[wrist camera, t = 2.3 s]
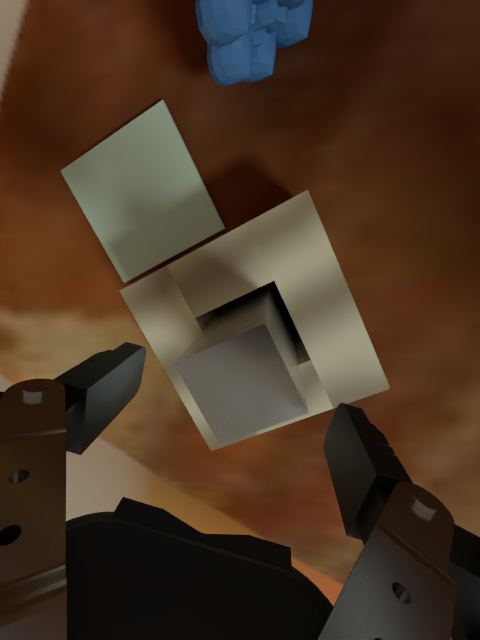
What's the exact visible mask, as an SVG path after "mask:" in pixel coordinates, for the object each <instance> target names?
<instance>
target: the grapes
mask: <svg viewBox="0 0 480 640" xmlns="http://www.w3.org/2000/svg"><path fill="white" fill-rule="evenodd" d="M195 10H196V16H197V21H198V27H199V30H200V32H201V34H202V35H203V37H204V38H205V40H206V42H207V43H208V45H207V62H208V67H209V73H210V75H211V76H212V78H213V79H214V81H215V82H216V83H217V84H220V85H223V86H228V85H232V84H236V83H238V82H240V81H244V82H247V83H252V82H256V81H259V80H262V79H264V78H266V77H268V76H270V75H272V73H273V67H274V61H275V55H276V46H277V47H279V48H285V47H289V46H292V45H294V44H296V43H298V42H300V41H301V40H303V39H305V38H307V37H308V32H309V27H310V22H311V17H312V11H313V0H195Z"/></svg>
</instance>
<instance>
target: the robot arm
mask: <svg viewBox="0 0 480 640" xmlns="http://www.w3.org/2000/svg"><path fill="white" fill-rule="evenodd" d="M145 355H146V349H145V347H143V346H139V345H136V344H132V343H128V342H125V343H124V344H122V345H121V346H119V347H118V348H116V349H115V350H113V351H112V350H107V351H103V352H100V353H96V354H95V355H93V356H91V357H90V358H88V359H87V360H85V361H83V362H81V363H80V364H79V365H77V366H75V367H73V368H72V369H70V370H68V371H67V372H65V373H63V374H62V375H60V376H58V377H57V378H55V379H53V380H51V379H31V380H26V381H22V382H19V383H17V384H14V385H12V386H11V387H9V388H8V389H7V390H6V391H5V392H0V640H451V637H452V640H480V537H478V536H476V535H474V534H472V533H470V532H469V531H467V530H465V529H463V528H461V527H459V526H457V525H455V524H454V519H453V517H452V515H451V514H450V512H449V511H448V509H447V508H446V507H445V506H444V505H443V503H442V502H441V501H439V500H438V499H437V498H436V497H435V496H434V495H432V494H431V493H430V492H428V491H427V490H425V489H423V488H422V487H420V486H418V485H415V484H413V482H412V481H411V479H410V478H409V476H408V474H407V473H406V471H405V469H404V468H403V466H402V464H401V463H400V461H399V459H398V458H397V456H395V453H394V451H393V449H392V448H391V447H390V444H389V443H388V441H387V439H386V438H385V436H384V434H382V433H381V432H380V431H379V430H378V429H377V428H376V427H375V426H374V425H373V424H370V422H369V420H368V418H367V417H366V415H365V413H364V411H363V410H362V408H360V407H357V406H353V405H349V404H346V403H340V404H339V405H338V407H337V409H336V411H335V414H334V416H333V419H332V421H331V424H330V426H329V429H328V431H327V434H326V437H325V442H324V451H325V455H326V459H327V462H328V466H329V470H330V474H331V478H332V482H333V485H334V489H335V493H336V497H337V501H338V504H339V508H340V512H341V516H342V520H343V523H344V527H345V531H346V535H347V536H350V537H353V538H356V539H360V540H362V541H363V544H364V548H363V550H362V552H361V553H360V555H359V557H358V559H357V561H356V563H355V565H354V567H353V569H352V571H351V573H350V575H349V577H348V579H347V581H346V583H345V585H344V587H343V589H342V591H341V593H340V595H339V597H338V599H337V601H336V602H335V604H334V606H333V605H332V604H331V603H330V602H329V600H328V599H327V598H326V596H325V595H324V594H323V593H322V592H321V591H320V590H319V589H318V587H317V586H316V585H315V584H314V583H312V582H311V581H310V580H309V579H308V578H307V577H306V576H304V575H303V574H302V573H301V572H299V571H298V570H297V569H295V568H294V567H292V565H291V549H290V547H286V546H283V545H280V544H277V543H273V542H270V541H267V540H263V539H260V538H257V537H253V536H250V535H226V534H204V533H201V532H199V531H197V530H196V529H194V528H192V527H191V526H189V525H188V524H186V523H184V522H183V521H181V520H180V519H178V518H177V517H175V516H173V515H172V514H170V513H169V512H167V511H165V510H164V509H161V508H158V507H154V506H151V505H148V504H144V503H141V502H137V501H134V500H131V499H128V498H125V497H123V498H122V499H121V501H120V503H119V505H118V506H117V508H116V510H115V511H114V512H99V513H93V514H88V515H83V516H80V517H77V518H74V519H71V520H68V521H66V452H67V451H69V452H72V453H75V454H79V455H81V454H82V453H83V452H84V451H85V450H86V449H87V447H88V446H89V445H90V444H91V443H92V442H93V441H94V440H95V439H96V438H97V437H98V436H99V435H100V433H101V432H102V431H103V430H104V429H105V428H106V427H107V426H108V425H109V424H110V423H111V421H112V420H113V419H114V418H115V417H116V416H117V415H118V414H119V413H120V412H121V411H122V409H123V408H124V407H125V406H126V405H127V404H128V403H129V402H130V401H131V400H132V399H133V398H134V396H135V395H136V393H137V392H138V389H139V387H140V384H141V379H142V373H143V367H144V361H145Z"/></svg>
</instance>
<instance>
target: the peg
mask: <svg viewBox="0 0 480 640" xmlns="http://www.w3.org/2000/svg"><path fill="white" fill-rule="evenodd" d="M174 365H175V367H176V369H177V370H178V372H179V374H180V376H181V378H182V379H183V381H184V383H185V385H186V386H187V388H188V390H189V392H190V393H191V395H192V397H193V399H194V401H195V402H196V404H197V406H198V408H199V409H200V411H201V413H202V415H203V416H204V418H205V420H206V422H207V424H208V425H209V427H210V429H211V431H212V432H213V434H214V436H215V438H216V439H217V441H218V443H219V444H222V443H225V442H228V441H231V440H234V439H236V438H239V437H242V436H245V435H248V434H251V433H253V432H256V431H259V430H262V429H265V428H268V427H271V426H273V425H276V424H279V423H282V422H285V421H288V420H291V419H293V418H296V417H299V416H302V415H305V414H308V408H307V403H306V398H305V394H304V389H303V384H302V379H301V375H300V370H299V365H298V360H297V356H296V351H295V346H294V341H293V337H292V333H291V330H290V328H289V326H288V324H287V322H286V320H285V318H284V316H283V313H282V311H281V309H280V307H279V305H278V303H277V301H276V298H275V296H274V294H273V292H272V290H271V288H270V286H269V287H267V288H265V289H262V290H260V291H258V292H256V293H254V294H252V295H250V296H248V297H246V298H243V299H241V300H239V301H237V302H235V303H233V304H231V305H229V306H226V307H224V308H222V309H221V311H220V312H219V313H218V314H217V315H216V316H215V317H214V319H213V320H212V321H211V322H210V323H209V324H208V325H207V326H206V328H205V329H204V330H203V331H202V332H201V333H200V334H199V336H198V337H197V338H196V339H195V340H194V341H193V342H192V343H191V345H190V346H189V347H188V348H187V349H186V350H185V351H184V353H183V354H182V355H181V356H180V357H179V358H178V359H177V360H176V362H175V363H174Z"/></svg>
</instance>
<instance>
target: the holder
mask: <svg viewBox="0 0 480 640" xmlns="http://www.w3.org/2000/svg"><path fill="white" fill-rule="evenodd" d="M272 281H275V283H276V286H277V288H278V290H279V292H280V294H281V296H282V299H283V301H284V303H285V305H286V307H287V309H288V311H289V314H290V316H291V318H292V320H293V322H294V324H295V327H296V329H297V331H298V333H299V335H300V337H301V339H299V340H296V341H294V346H295V351H296V356H297V360H298V365H299V370H300V375H301V379H302V384H303V389H304V394H305V398H306V403H307V408H308V414H305V415H302V416H299V417H296V418H293V419H291V420H288V421H285V422H282V423H279V424H276V425H273V426H271V427H268V428H265V429H262V430H259V431H256V432H253V433H251V434H248V435H245V436H242V437H239V438H236V439H234V440H231V441H228V442H225V443H222V444H219V443H218V441H217V439H216V438H215V436H214V434H213V432H212V431H211V429H210V427H209V425H208V424H207V422H206V420H205V418H204V416H203V415H202V413H201V411H200V409H199V408H198V406H197V404H196V402H195V401H194V399H193V397H192V395H191V393H190V392H189V390H188V388H187V386H186V385H185V383H184V381H183V379H182V378H181V376H180V374H179V372H178V370H177V369H176V367H175V365H174V363H175V362H176V360H177V359H178V358H179V357H180V356H181V355H182V354H183V353H184V351H185V350H186V349H187V348H188V347H189V346H190V345H191V343H192V342H193V341H194V340H195V339H196V338H197V337H198V336H199V334H200V333H201V332H202V331H203V330H204V329H205V328H206V326H207V325H208V324H209V323H210V322H211V321H212V320H213V319H214V317H215V316H216V313H215V311H214V309H215V308H217V307H220V306H222V305H224V304H226V303H228V302H230V301H232V300H234V299H236V298H238V297H241V296H243V295H245V294H247V293H249V292H251V291H253V290H255V289H257V288H260V287H262V286H264V285H266V284H268V283H270V282H272ZM120 293H121V295H122V297H123V298H124V300H125V302H126V304H127V305H128V307H129V309H130V311H131V312H132V314H133V316H134V318H135V319H136V321H137V323H138V325H139V326H140V328H141V330H142V331H143V333H144V335H145V337H146V338H147V340H148V342H149V344H150V345H151V347H152V349H153V351H154V352H155V354H156V356H157V358H158V359H159V361H160V363H161V365H162V366H163V368H164V370H165V371H166V373H167V375H168V377H169V378H170V380H171V382H172V384H173V385H174V387H175V389H176V391H177V392H178V394H179V396H180V398H181V399H182V401H183V403H184V405H185V406H186V408H187V410H188V411H189V413H190V415H191V417H192V418H193V420H194V422H195V424H196V425H197V427H198V429H199V431H200V432H201V434H202V436H203V438H204V439H205V441H206V443H207V445H208V446H209V448H210V450H211V451H212V450H215V449H218V448H221V447H224V446H227V445H230V444H232V443H235V442H238V441H241V440H244V439H247V438H250V437H253V436H255V435H258V434H261V433H264V432H267V431H270V430H273V429H276V428H278V427H281V426H284V425H287V424H290V423H293V422H296V421H299V420H301V419H304V418H307V417H310V416H313V415H316V414H319V413H322V412H324V411H327V410H330V409H333V408H336V407H338V405H339V404H340V403H346V404H347V403H350V402H353V401H356V400H359V399H362V398H365V397H367V396H370V395H373V394H376V393H379V392H382V391H385V390H388V389H390V387H389V384H388V382H387V379H386V377H385V375H384V372H383V370H382V367H381V365H380V363H379V360H378V358H377V355H376V353H375V351H374V348H373V346H372V343H371V341H370V338H369V336H368V334H367V331H366V329H365V326H364V324H363V322H362V319H361V317H360V314H359V312H358V310H357V307H356V305H355V302H354V300H353V297H352V295H351V293H350V290H349V288H348V285H347V283H346V281H345V278H344V276H343V273H342V271H341V269H340V266H339V264H338V261H337V259H336V257H335V254H334V252H333V249H332V247H331V244H330V242H329V240H328V237H327V235H326V232H325V230H324V228H323V225H322V223H321V220H320V218H319V216H318V213H317V211H316V208H315V206H314V203H313V201H312V199H311V196H310V194H309V191H308V190H306V191H304V192H303V193H301V194H299V195H297V196H295V197H293V198H291V199H289V200H288V201H286V202H284V203H282V204H280V205H278V206H276V207H275V208H273V209H271V210H269V211H267V212H265V213H263V214H262V215H260V216H258V217H256V218H254V219H252V220H250V221H249V222H247V223H245V224H243V225H241V226H239V227H237V228H236V229H234V230H232V231H230V232H228V233H226V234H224V235H222V236H221V237H219V238H217V239H215V240H213V241H211V242H209V243H208V244H206V245H204V246H202V247H200V248H198V249H196V250H195V251H193V252H191V253H189V254H187V255H185V256H183V257H182V258H180V259H178V260H176V261H174V262H172V263H170V264H168V265H167V266H165V267H163V268H161V269H159V270H157V271H155V272H154V273H152V274H150V275H148V276H146V277H144V278H142V279H141V280H139V281H137V282H135V283H133V284H131V285H129V286H128V287H126V288H124V289H122V290H120Z"/></svg>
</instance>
